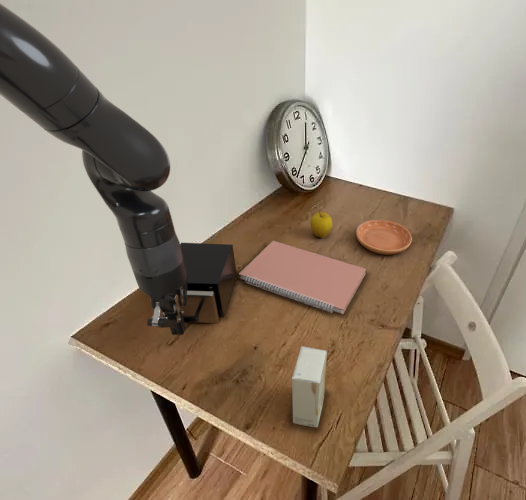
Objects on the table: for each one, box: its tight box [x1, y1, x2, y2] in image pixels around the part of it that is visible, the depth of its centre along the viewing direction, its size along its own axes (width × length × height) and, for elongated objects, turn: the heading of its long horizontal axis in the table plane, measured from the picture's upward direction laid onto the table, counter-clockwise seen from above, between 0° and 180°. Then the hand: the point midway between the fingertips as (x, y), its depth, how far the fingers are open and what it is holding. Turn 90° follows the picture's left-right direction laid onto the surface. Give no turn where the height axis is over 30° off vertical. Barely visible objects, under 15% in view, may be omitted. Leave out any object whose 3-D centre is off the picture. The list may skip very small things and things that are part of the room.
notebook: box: [238, 240, 367, 315], centre depth 87 cm, size 27×17×2 cm, turn 67°
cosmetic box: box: [291, 346, 328, 428], centre depth 57 cm, size 6×4×12 cm
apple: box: [309, 209, 333, 239], centre depth 101 cm, size 6×6×8 cm
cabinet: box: [180, 242, 238, 318], centre depth 78 cm, size 14×12×10 cm
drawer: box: [183, 286, 220, 324], centre depth 74 cm, size 17×10×8 cm, turn 1°
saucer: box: [355, 219, 413, 256], centre depth 102 cm, size 16×16×3 cm
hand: (179, 331), depth 66 cm, fingers closed
